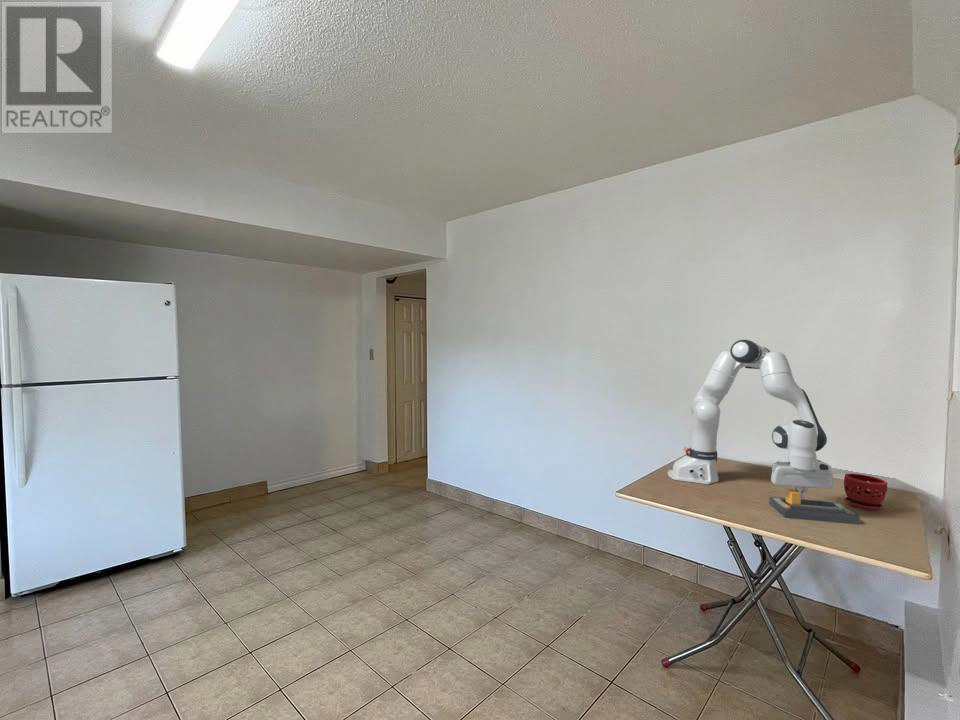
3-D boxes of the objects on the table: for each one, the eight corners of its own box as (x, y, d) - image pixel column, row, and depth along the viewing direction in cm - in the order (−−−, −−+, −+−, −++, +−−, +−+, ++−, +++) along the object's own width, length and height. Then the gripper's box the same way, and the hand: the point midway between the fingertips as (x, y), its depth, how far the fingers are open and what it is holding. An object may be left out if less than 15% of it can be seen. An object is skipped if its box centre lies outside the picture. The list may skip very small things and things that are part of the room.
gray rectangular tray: (784, 517, 164) (785, 506, 164) (769, 503, 178) (769, 493, 178) (858, 524, 159) (859, 513, 159) (836, 509, 173) (837, 499, 172)
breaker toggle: (791, 505, 168) (792, 492, 168) (785, 500, 173) (786, 488, 172) (800, 506, 167) (800, 493, 167) (794, 501, 172) (794, 489, 172)
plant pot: (881, 515, 167) (882, 485, 167) (838, 504, 178) (840, 476, 177) (889, 508, 175) (891, 479, 174) (848, 498, 186) (849, 470, 185)
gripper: (775, 463, 168) (774, 498, 168) (836, 466, 163) (835, 502, 164) (768, 459, 174) (767, 492, 174) (826, 462, 170) (825, 496, 170)
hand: (800, 497), depth 169 cm, fingers closed
